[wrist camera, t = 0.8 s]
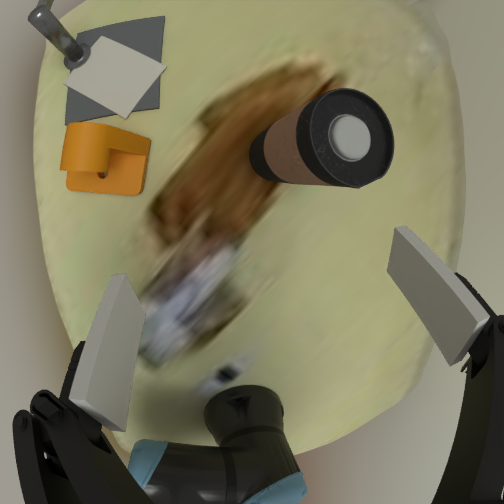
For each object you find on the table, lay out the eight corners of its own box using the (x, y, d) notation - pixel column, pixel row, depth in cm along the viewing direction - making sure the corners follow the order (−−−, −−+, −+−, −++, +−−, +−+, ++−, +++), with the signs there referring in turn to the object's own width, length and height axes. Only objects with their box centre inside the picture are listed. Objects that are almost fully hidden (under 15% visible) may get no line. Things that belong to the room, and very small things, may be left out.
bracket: (73, 189, 31) (28, 195, 19) (80, 137, 29) (38, 123, 18) (143, 195, 33) (120, 202, 22) (152, 141, 32) (133, 123, 20)
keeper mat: (60, 133, 28) (59, 132, 27) (73, 36, 23) (72, 34, 23) (165, 114, 31) (165, 113, 31) (171, 16, 27) (170, 14, 26)
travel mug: (259, 120, 34) (326, 67, 15) (307, 142, 36) (404, 120, 17) (238, 170, 35) (291, 160, 16) (289, 191, 37) (379, 205, 18)
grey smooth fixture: (89, 65, 26) (48, 20, 12) (63, 72, 25) (16, 35, 11) (95, 31, 24) (63, -20, 10) (70, 38, 23) (32, -6, 9)
